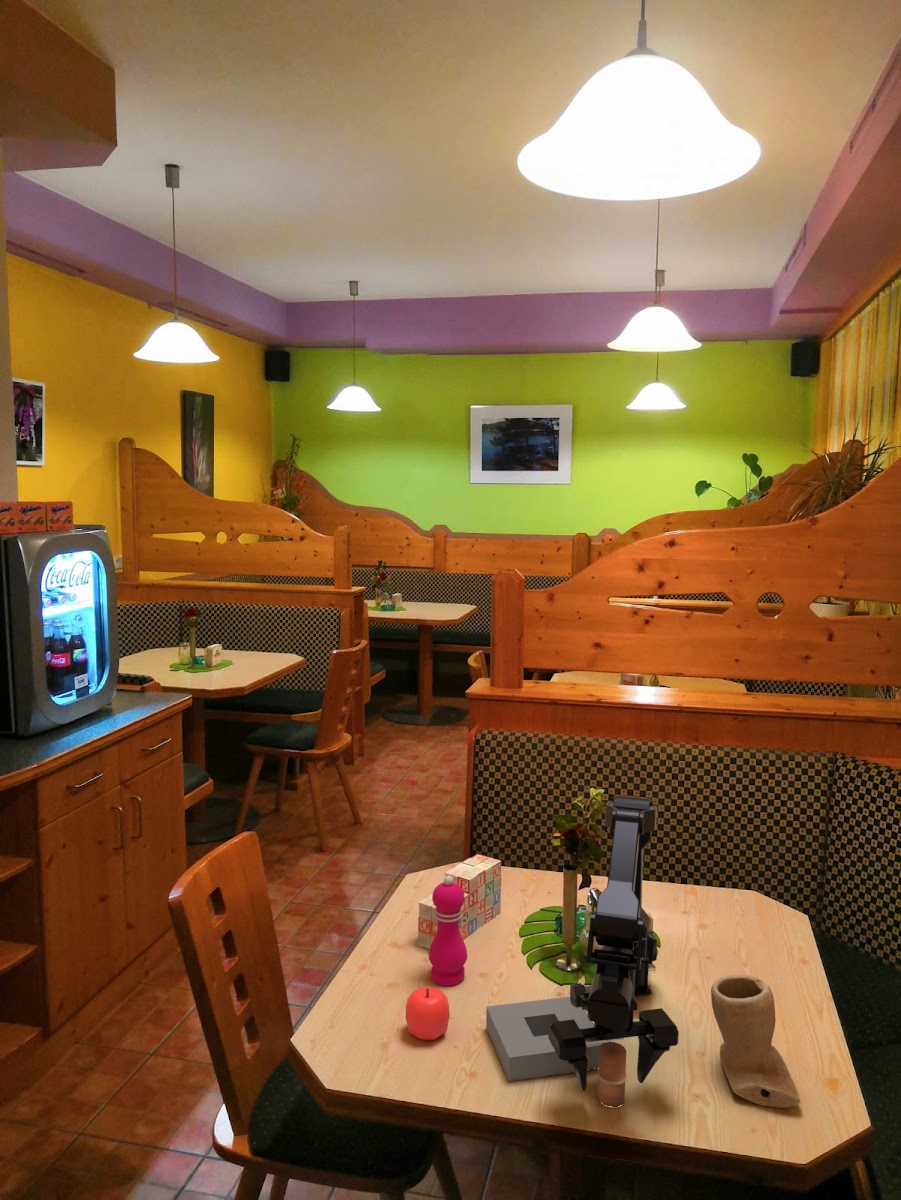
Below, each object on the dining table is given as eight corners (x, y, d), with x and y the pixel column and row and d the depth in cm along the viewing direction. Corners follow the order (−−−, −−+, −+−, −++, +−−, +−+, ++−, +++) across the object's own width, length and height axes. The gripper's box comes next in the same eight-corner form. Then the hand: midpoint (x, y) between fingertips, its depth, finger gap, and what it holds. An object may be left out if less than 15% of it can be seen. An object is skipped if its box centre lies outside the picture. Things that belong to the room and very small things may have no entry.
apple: (441, 1051, 147) (441, 1005, 146) (396, 1040, 150) (396, 995, 149) (457, 1024, 154) (457, 980, 153) (414, 1014, 157) (414, 971, 156)
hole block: (575, 1017, 157) (575, 995, 156) (605, 1067, 143) (606, 1044, 143) (486, 1028, 153) (486, 1006, 153) (509, 1081, 140) (509, 1057, 139)
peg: (618, 1088, 138) (620, 1039, 137) (629, 1106, 134) (631, 1056, 133) (592, 1091, 138) (594, 1043, 137) (603, 1110, 133) (604, 1060, 132)
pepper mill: (463, 990, 165) (464, 886, 162) (424, 985, 166) (425, 882, 164) (470, 969, 172) (471, 869, 169) (433, 965, 173) (433, 866, 171)
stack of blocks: (442, 955, 177) (443, 896, 176) (417, 945, 181) (417, 887, 179) (501, 914, 194) (501, 859, 193) (476, 906, 198) (477, 852, 196)
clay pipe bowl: (702, 1046, 149) (706, 961, 147) (776, 1052, 148) (781, 966, 146) (718, 1108, 134) (723, 1014, 132) (801, 1115, 133) (807, 1021, 131)
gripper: (649, 954, 144) (646, 1045, 146) (537, 967, 140) (535, 1060, 142) (682, 992, 133) (678, 1090, 135) (562, 1007, 129) (559, 1108, 131)
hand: (611, 1085), depth 136 cm, fingers open, 9 cm apart
